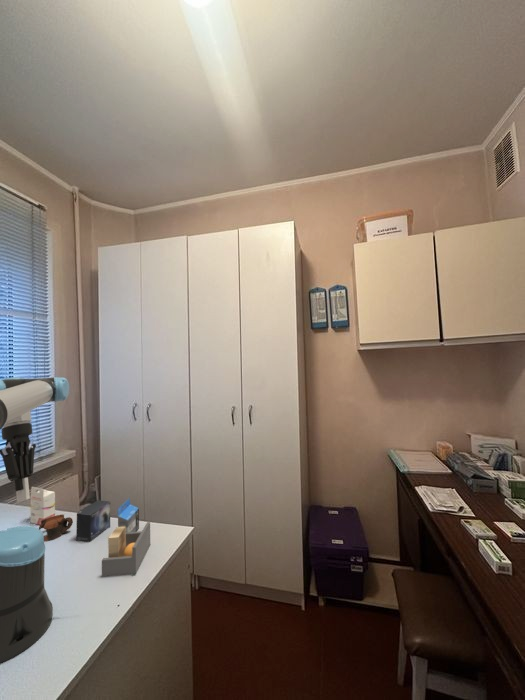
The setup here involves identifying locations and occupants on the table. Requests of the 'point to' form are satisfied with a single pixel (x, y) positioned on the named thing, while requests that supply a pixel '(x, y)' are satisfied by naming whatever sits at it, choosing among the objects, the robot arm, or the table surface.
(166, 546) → the table surface
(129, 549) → the ball
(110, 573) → the pitch
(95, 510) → the small box
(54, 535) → the pottery mug
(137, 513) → the label tape cartridge
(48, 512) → the ink cartridge box
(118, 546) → the wooden block
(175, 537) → the table surface
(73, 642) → the table surface
